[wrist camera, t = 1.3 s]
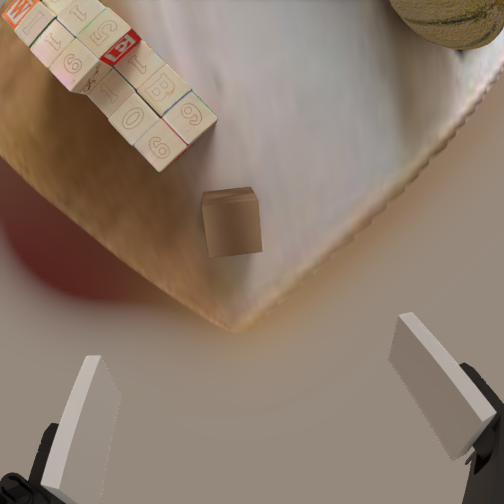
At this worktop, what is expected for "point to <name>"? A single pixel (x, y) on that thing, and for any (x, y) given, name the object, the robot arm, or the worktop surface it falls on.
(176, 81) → the stack of blocks
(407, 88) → the worktop surface
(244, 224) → the walnut block
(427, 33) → the cantaloupe
